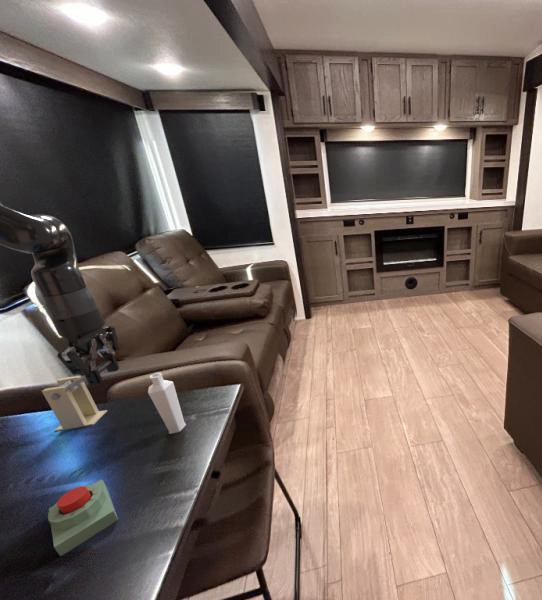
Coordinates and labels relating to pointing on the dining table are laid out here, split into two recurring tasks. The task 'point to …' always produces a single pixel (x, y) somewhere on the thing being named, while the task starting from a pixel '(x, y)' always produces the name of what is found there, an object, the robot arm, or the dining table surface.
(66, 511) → the button
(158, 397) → the perfume bottle
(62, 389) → the lever bracket
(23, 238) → the robot arm
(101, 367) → the gray bracket-mounted lever
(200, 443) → the dining table surface
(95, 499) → the button block
